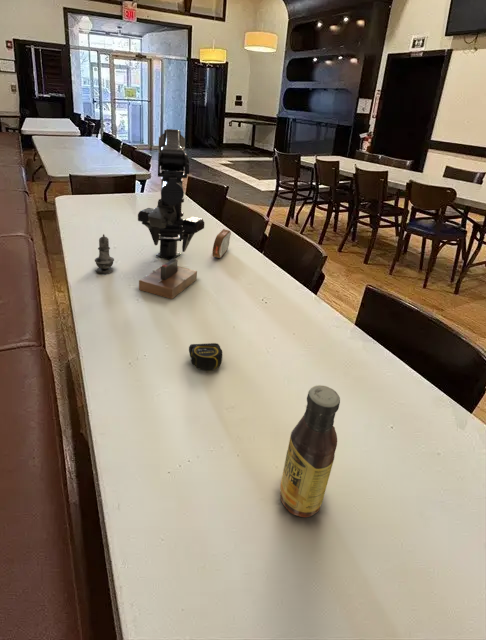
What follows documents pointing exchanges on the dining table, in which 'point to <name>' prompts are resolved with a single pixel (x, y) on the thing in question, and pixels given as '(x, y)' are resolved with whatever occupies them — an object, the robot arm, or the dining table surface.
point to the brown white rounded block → (221, 243)
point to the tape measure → (206, 356)
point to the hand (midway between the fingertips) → (169, 248)
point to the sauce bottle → (310, 454)
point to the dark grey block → (169, 269)
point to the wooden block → (168, 282)
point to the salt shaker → (104, 257)
